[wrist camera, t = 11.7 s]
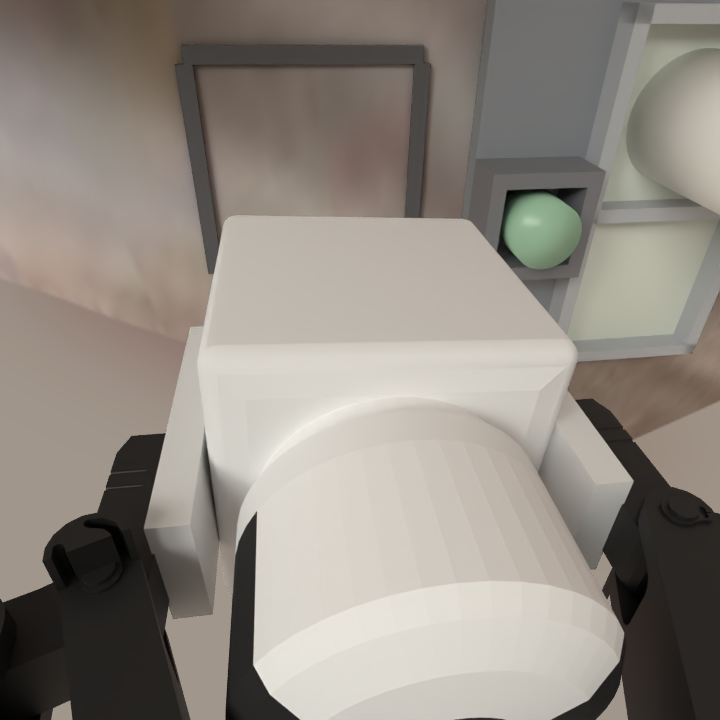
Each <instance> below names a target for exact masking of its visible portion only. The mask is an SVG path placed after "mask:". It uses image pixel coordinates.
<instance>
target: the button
mask: <svg viewBox="0 0 720 720" xmlns="http://www.w3.org/2000/svg"><path fill="white" fill-rule="evenodd" d="M581 233H582V224H581V220H580V217H579V215H578V214H577V212H576V211H575V210H574V209H572V208H571V207H570V206H568V205H567V204H566V203H564V202H563V201H562V200H560V199H559V198H558V197H556V196H555V195H554V194H552V193H551V192H549V191H548V190H547V189H524V190H516V191H515V192H513V193H512V194H510V195H509V196H508V197H507V198H506V199H505V205H504V211H503V217H502V223H501V229H500V235H499V238H500V239H501V240H502V241H503V242H504V244H505V245H506V246H507V247H508V248H509V249H510V250H511V251H512V252H513V254H514V255H515V256H516V257H517V258H518V259H519V260H520V261H521V262H522V263H523V264H524V265H525V266H527V267H529V268H532V269H548V268H551V267H554V266H556V265H558V264H560V263H561V262H563V261H564V260H566V259H567V258H568V257H569V256H570V255H571V254H572V253H573V251H574V250H575V248H576V247H577V245H578V243H579V241H580V237H581Z"/></svg>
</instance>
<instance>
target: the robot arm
mask: <svg viewBox="0 0 720 720" xmlns="http://www.w3.org/2000/svg"><path fill="white" fill-rule="evenodd" d="M203 328H204V326H201V327H190V331H189V335H188V339H187V344H186V348H185V353H184V357H183V361H182V365H181V370H180V374H179V378H178V383H177V388H176V391H175V396H174V400H173V404H172V409H171V413H170V417H169V422H168V426H167V430H166V433H164V434H152V435H138V436H131V437H130V438H129V440H128V441H127V442H126V443H125V444H124V445H123V447H122V448H121V449H120V450H119V451H118V452H117V454H116V457H115V460H114V463H113V466H112V470H111V475H110V476H109V479H108V482H107V485H106V491H104V494H103V497H102V500H101V503H100V506H99V509H98V512H97V513H94V514H89V515H84V516H81V517H79V518H77V519H75V520H73V521H71V522H69V523H67V524H66V525H65V526H64V527H62V528H61V529H60V530H59V531H58V532H56V533H55V534H54V535H53V536H52V538H51V540H50V541H49V543H48V544H47V546H46V547H45V550H44V556H43V563H44V565H45V567H46V569H47V571H48V573H49V575H50V577H51V579H52V581H53V583H51V584H49V585H47V586H45V587H43V588H40V589H38V590H35V591H33V592H30V593H27V594H25V595H22V596H19V597H17V598H14V599H11V600H9V601H6V602H2V601H1V599H0V720H51V717H52V711H53V708H54V707H56V706H59V705H61V704H63V703H65V702H67V701H71V710H72V718H73V720H190V717H189V713H188V709H187V706H186V702H185V698H184V695H183V691H182V687H181V684H180V680H179V676H178V673H177V669H176V665H175V662H174V658H173V654H172V650H171V646H170V643H169V639H168V636H167V633H166V630H165V624H166V618H167V612H168V606H169V608H170V611H171V614H172V617H173V619H177V618H186V617H193V616H202V615H211V614H213V605H214V594H215V582H216V572H217V560H218V549H219V533H218V527H217V520H216V512H215V504H214V496H213V489H212V481H211V473H210V465H209V457H208V449H207V441H206V433H205V425H204V418H203V410H202V402H201V394H200V386H199V378H198V370H197V359H198V354H199V348H200V343H201V338H202V333H203ZM622 427H623V426H622V425H621V424H620V423H619V421H618V420H617V419H616V418H615V416H614V415H613V414H612V413H611V411H609V410H608V409H606V408H605V407H604V406H602V405H601V404H599V403H598V402H596V401H595V400H593V399H582V400H574V398H573V397H572V396H571V394H570V393H569V392H568V390H567V392H566V395H565V398H564V401H563V403H562V406H561V409H560V412H559V415H558V418H557V421H556V423H555V426H554V429H553V432H552V435H551V438H550V440H549V443H548V446H547V449H546V452H545V455H544V457H543V460H542V463H541V466H540V469H539V472H538V474H539V476H540V478H541V480H542V482H543V484H544V485H545V487H546V489H547V491H548V493H549V495H550V496H551V498H552V500H553V502H554V504H555V506H556V507H557V509H558V511H559V513H560V515H561V517H562V518H563V520H564V522H565V524H566V526H567V528H568V529H569V531H570V533H571V535H572V537H573V539H574V540H575V542H576V544H577V546H578V548H579V550H580V551H581V553H582V555H583V557H584V559H585V561H586V562H587V564H588V566H589V568H590V570H592V569H596V567H597V565H598V563H599V560H600V558H601V555H602V553H603V552H604V554H605V555H606V557H607V559H608V560H609V562H610V564H611V566H612V567H613V568H612V570H611V572H610V574H609V576H608V578H607V581H606V583H605V585H604V587H603V589H602V592H603V594H604V595H605V597H606V599H608V597H609V595H610V599H611V606H612V610H613V612H614V614H615V616H616V617H617V619H618V621H619V623H620V625H621V627H622V629H623V631H624V634H625V641H626V651H625V657H624V663H623V669H622V681H623V687H624V695H625V701H626V708H627V715H628V720H720V514H718V513H714V512H713V510H712V509H711V508H710V507H709V506H708V505H707V504H706V503H705V502H704V501H702V500H701V499H700V498H698V497H696V496H694V495H693V494H691V493H689V492H687V491H684V490H680V489H677V488H674V487H670V486H669V484H668V483H667V482H666V481H665V479H664V478H663V477H662V476H661V474H660V473H659V472H658V471H657V469H656V468H655V467H654V466H653V464H652V463H651V462H650V460H649V459H648V458H647V457H646V455H645V454H644V453H643V452H642V450H641V449H640V448H639V447H638V445H637V444H636V443H635V442H633V441H632V438H631V436H630V435H629V434H628V433H627V431H626V430H623V428H622Z"/></svg>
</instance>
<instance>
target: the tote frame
mask: <svg viewBox="0 0 720 720" xmlns="http://www.w3.org/2000/svg"><path fill="white" fill-rule="evenodd" d="M181 52H182V58H183V64H175V68H176V75H177V81H178V87H179V93H180V99H181V105H182V112H183V118H184V124H185V130H186V136H187V143H188V149H189V155H190V161H191V167H192V174H193V180H194V186H195V192H196V198H197V205H198V211H199V217H200V223H201V229H202V236H203V242H204V248H205V254H206V260H207V267H208V273H209V274H214V271H215V266H216V261H217V256H218V250H219V242H218V235H217V228H216V221H215V214H214V207H213V200H212V193H211V187H210V180H209V173H208V166H207V159H206V152H205V145H204V138H203V131H202V124H201V117H200V111H199V104H198V97H197V90H196V83H195V76H194V69H193V65H272V64H414V72H413V89H412V106H411V122H410V139H409V156H408V173H407V189H406V206H405V218H419V213H420V200H421V187H422V173H423V160H424V147H425V134H426V120H427V107H428V94H429V80H430V67H431V64H430V63H423V57H424V45H181Z"/></svg>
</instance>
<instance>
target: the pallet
mask: <svg viewBox="0 0 720 720" xmlns="http://www.w3.org/2000/svg"><path fill="white" fill-rule="evenodd" d="M701 48H717V49H720V0H488V3H487V11H486V19H485V27H484V36H483V44H482V52H481V61H480V69H479V77H478V85H477V94H476V102H475V110H474V118H473V127H472V135H471V143H470V152H469V160H468V168H467V176H466V185H465V193H464V201H463V209H462V218H461V219H465V220H469V221H471V222H472V223H473V224H474V226H475V227H476V228H477V229H478V230H479V231H480V233H481V234H482V235H483V236H484V237H485V239H486V240H487V241H488V242H489V243H490V245H491V246H492V247H493V248H494V249H495V251H496V252H497V253H498V254H499V255H500V256H501V258H502V259H503V260H504V261H505V262H506V264H507V265H508V266H509V267H510V268H511V270H512V271H513V272H514V273H515V274H516V275H517V277H518V278H519V279H520V280H521V281H522V283H523V284H524V285H525V286H526V287H527V289H528V290H529V291H530V292H531V293H532V294H533V296H534V297H535V298H536V299H537V300H538V302H539V303H540V304H541V305H542V306H543V308H544V309H545V310H546V311H547V312H548V313H549V315H550V316H551V317H552V318H553V319H554V321H555V322H556V323H557V324H558V325H559V327H560V328H561V329H562V330H563V331H564V332H565V334H566V335H567V336H568V337H569V338H570V340H571V341H572V342H573V343H574V345H575V346H576V348H577V351H578V361H577V362H583V361H597V360H611V359H625V358H639V357H653V356H667V355H681V354H692V353H693V351H694V348H695V346H696V344H697V341H698V339H699V337H700V335H701V332H702V330H703V328H704V325H705V323H706V321H707V318H708V316H709V314H710V311H711V309H712V307H713V304H714V302H715V300H716V298H717V295H718V293H719V291H720V215H719V214H717V213H715V212H713V211H711V210H709V209H707V208H705V207H703V206H701V205H700V204H698V203H696V202H694V201H692V200H690V199H688V198H686V197H684V196H682V195H680V194H678V193H676V192H674V191H672V190H670V189H669V188H667V187H665V186H663V185H661V184H659V183H657V182H655V181H653V180H651V179H649V178H647V177H645V176H644V175H642V174H641V173H640V172H639V171H638V170H637V169H636V168H635V167H634V166H633V164H632V163H631V160H630V158H629V156H628V152H627V147H626V130H627V124H628V120H629V116H630V114H631V111H632V108H633V106H634V104H635V102H636V100H637V98H638V96H639V95H640V93H641V91H642V90H643V88H644V87H645V86H646V84H647V83H648V82H649V81H650V79H651V78H652V77H653V76H654V75H655V74H656V73H657V72H658V71H659V70H660V69H661V68H662V67H664V66H665V65H666V64H668V63H669V62H670V61H672V60H673V59H675V58H677V57H678V56H680V55H683V54H685V53H687V52H690V51H693V50H696V49H701ZM524 189H547V190H548V191H549V192H551V193H552V194H554V195H555V196H556V197H558V198H559V199H560V200H562V201H563V202H564V203H566V204H567V205H568V206H570V207H571V208H572V209H574V210H575V211H576V212H577V214H578V215H579V217H580V220H581V224H582V233H581V237H580V241H579V243H578V245H577V247H576V248H575V250H574V251H573V253H572V254H571V255H570V256H569V257H568V258H567V259H566V260H564V261H563V262H561V263H560V264H558V265H556V266H554V267H551V268H548V269H532V268H529V267H527V266H525V265H524V264H523V263H522V262H521V261H520V260H519V259H518V258H517V257H516V256H515V255H514V254H513V252H512V251H511V250H510V249H509V248H508V247H507V246H506V245H505V244H504V242H503V241H502V240H501V239H500V238H499V235H500V229H501V223H502V217H503V211H504V205H505V199H506V198H507V197H508V196H509V195H510V194H512V193H513V192H515V191H516V190H524Z"/></svg>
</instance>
